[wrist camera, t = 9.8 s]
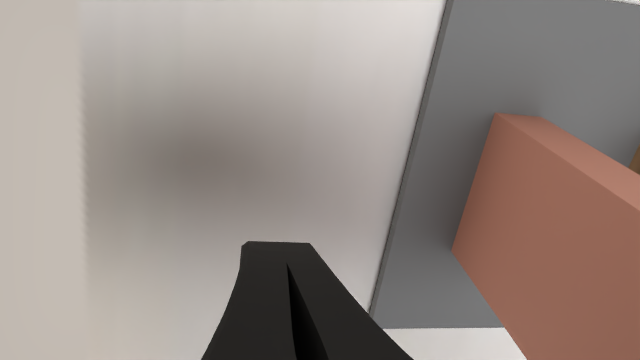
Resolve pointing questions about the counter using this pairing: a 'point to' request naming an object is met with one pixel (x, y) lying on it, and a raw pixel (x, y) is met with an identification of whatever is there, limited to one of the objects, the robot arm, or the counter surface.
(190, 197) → the counter surface
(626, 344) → the domino
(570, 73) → the domino mat
